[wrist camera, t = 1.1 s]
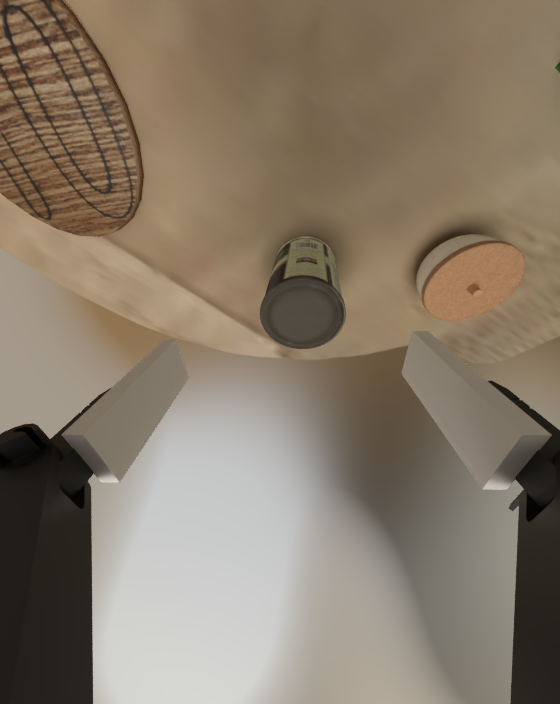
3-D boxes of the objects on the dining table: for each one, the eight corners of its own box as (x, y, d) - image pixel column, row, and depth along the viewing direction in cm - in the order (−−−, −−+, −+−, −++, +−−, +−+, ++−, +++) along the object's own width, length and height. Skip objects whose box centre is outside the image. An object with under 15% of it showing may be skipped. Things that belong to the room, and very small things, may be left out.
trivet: (44, 240, 39) (35, 244, 37) (-175, -34, 22) (-207, -46, 20) (176, 224, 35) (170, 227, 33) (34, -131, 17) (11, -153, 16)
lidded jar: (391, 269, 36) (410, 300, 29) (464, 205, 29) (509, 225, 22) (431, 305, 39) (456, 340, 32) (503, 255, 33) (553, 286, 26)
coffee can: (288, 303, 42) (280, 356, 32) (263, 251, 36) (244, 297, 26) (343, 285, 38) (354, 338, 28) (326, 223, 32) (332, 263, 22)
